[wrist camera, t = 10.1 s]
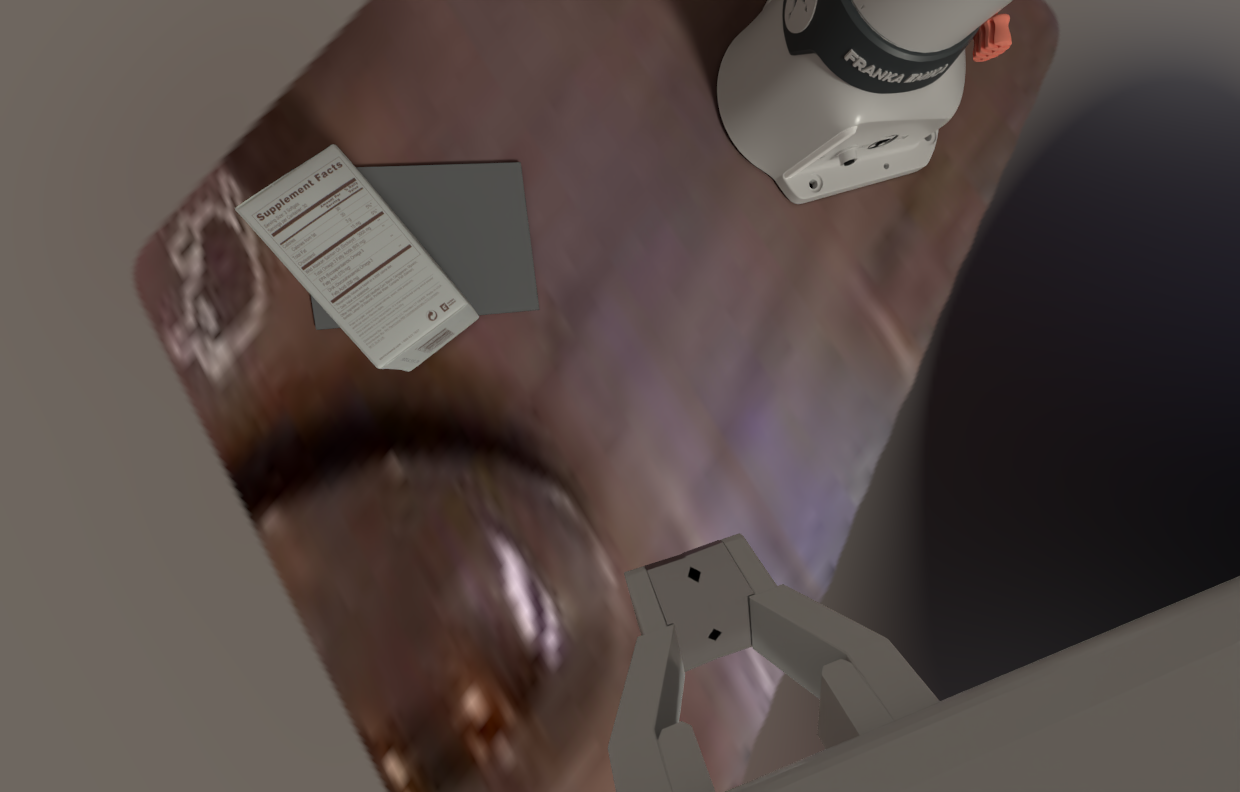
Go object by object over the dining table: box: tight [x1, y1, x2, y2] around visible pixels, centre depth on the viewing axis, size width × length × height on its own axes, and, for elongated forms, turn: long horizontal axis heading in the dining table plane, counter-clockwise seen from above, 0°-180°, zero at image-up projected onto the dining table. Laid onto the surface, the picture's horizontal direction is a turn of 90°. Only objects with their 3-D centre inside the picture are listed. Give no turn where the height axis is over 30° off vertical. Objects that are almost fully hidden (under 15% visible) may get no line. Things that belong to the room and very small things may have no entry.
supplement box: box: [235, 144, 479, 371], centre depth 32 cm, size 7×7×13 cm
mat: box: [291, 162, 539, 330], centre depth 36 cm, size 17×12×1 cm
